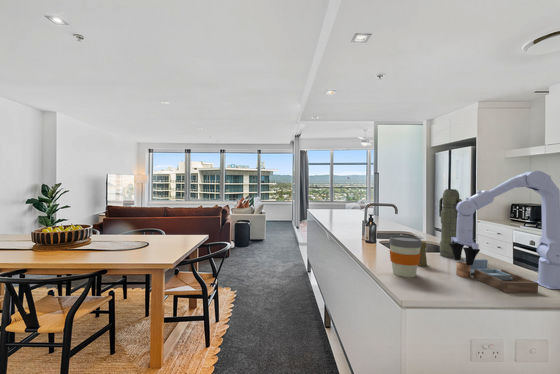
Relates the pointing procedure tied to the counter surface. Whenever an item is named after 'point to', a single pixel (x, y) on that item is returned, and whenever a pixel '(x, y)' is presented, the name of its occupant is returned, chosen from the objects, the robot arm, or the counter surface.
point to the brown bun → (462, 269)
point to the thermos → (448, 220)
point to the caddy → (508, 282)
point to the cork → (423, 254)
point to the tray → (482, 266)
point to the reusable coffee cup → (405, 255)
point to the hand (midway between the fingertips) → (463, 262)
